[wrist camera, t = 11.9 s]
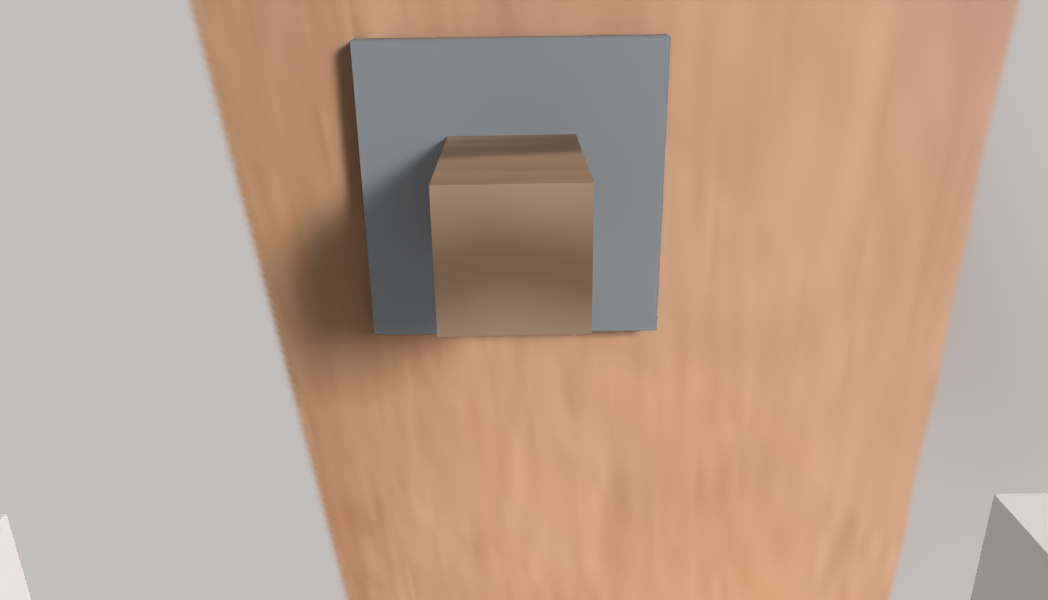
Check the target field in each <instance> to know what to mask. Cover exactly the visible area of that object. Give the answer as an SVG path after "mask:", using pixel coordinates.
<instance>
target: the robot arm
mask: <svg viewBox="0 0 1048 600" xmlns="http://www.w3.org/2000/svg"><path fill="white" fill-rule="evenodd" d="M0 600H31V598H30V594H29V591H28V587H27V584H26V581H25V577H24V574H23V570H22V566H21V563H20V559H19V556H18V553H17V549H16V546H15V542H14V539H13V535H12V532H11V528H10V525H9V522H8V518H7V514H6V513H0ZM971 600H1048V493H1030V494H1029V493H1027V494H994V498H993V502H992V507H991V511H990V516H989V521H988V525H987V529H986V534H985V538H984V542H983V547H982V551H981V556H980V560H979V565H978V569H977V574H976V578H975V583H974V587H973V591H972V596H971Z"/></svg>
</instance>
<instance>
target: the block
mask: <svg viewBox="0 0 1048 600" xmlns="http://www.w3.org/2000/svg"><path fill="white" fill-rule="evenodd" d="M429 198H430V215H431V233H432V250H433V268H434V285H435V303H436V320H437V337H460V336H513V335H566V334H592V290H593V224H594V181H593V178H592V176H591V173H590V170H589V168H588V165H587V162H586V160H585V157H584V154H583V152H582V149H581V146H580V144H579V141H578V138H577V136H576V134H546V135H489V136H447V139H446V142H445V144H444V147H443V150H442V152H441V155H440V157H439V160H438V163H437V165H436V168H435V171H434V173H433V176H432V178H431V181H430V184H429Z"/></svg>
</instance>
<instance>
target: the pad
mask: <svg viewBox="0 0 1048 600" xmlns="http://www.w3.org/2000/svg"><path fill="white" fill-rule="evenodd" d="M670 38H671V36H669V35H666V34H658V35H586V36H514V37H442V38H369V39H353V40H351V41H350V48H351V60H352V72H353V84H354V96H355V108H356V120H357V132H358V144H359V156H360V168H361V180H362V192H363V204H364V216H365V228H366V240H367V252H368V264H369V276H370V288H371V300H372V312H373V324H374V335H402V334H437V320H436V303H435V285H434V268H433V250H432V233H431V215H430V198H429V184H430V181H431V178H432V176H433V173H434V171H435V168H436V165H437V163H438V160H439V157H440V155H441V152H442V150H443V147H444V144H445V142H446V139H447V136H489V135H546V134H576V136H577V138H578V141H579V144H580V146H581V149H582V152H583V154H584V157H585V160H586V162H587V165H588V168H589V170H590V173H591V176H592V178H593V181H594V224H593V290H592V331H648V330H656V328H657V308H658V287H659V266H660V245H661V225H662V204H663V183H664V162H665V142H666V121H667V100H668V79H669V59H670Z"/></svg>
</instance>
